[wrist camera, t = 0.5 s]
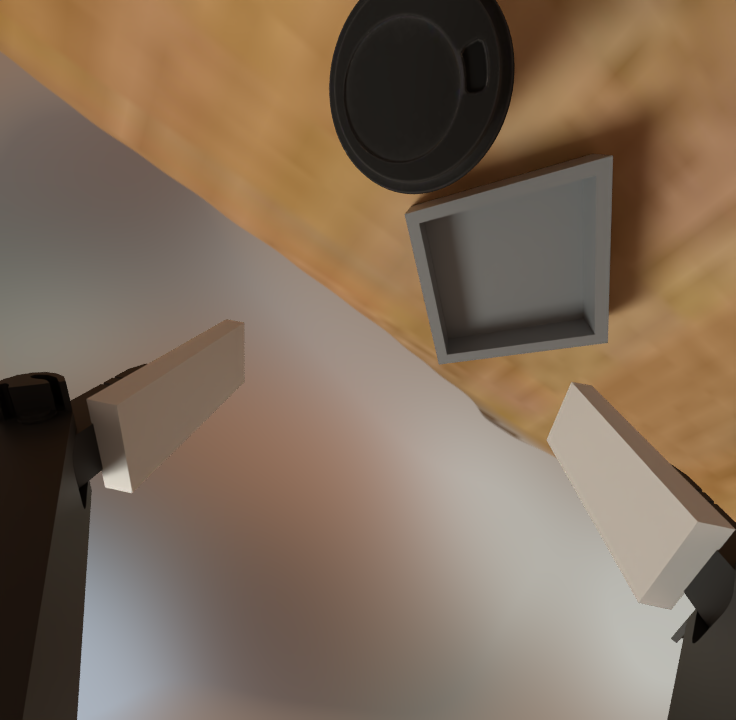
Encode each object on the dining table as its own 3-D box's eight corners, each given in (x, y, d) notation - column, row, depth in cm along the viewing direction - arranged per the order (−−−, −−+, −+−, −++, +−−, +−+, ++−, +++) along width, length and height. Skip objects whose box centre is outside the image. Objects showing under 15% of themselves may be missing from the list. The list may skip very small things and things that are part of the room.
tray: (593, 153, 28) (613, 155, 24) (592, 321, 35) (607, 342, 31) (411, 206, 33) (404, 214, 29) (441, 343, 40) (438, 364, 36)
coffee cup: (518, 114, 28) (562, 92, 15) (425, 200, 33) (401, 235, 20) (446, 0, 26) (430, -134, 13) (356, 110, 30) (282, 88, 18)
